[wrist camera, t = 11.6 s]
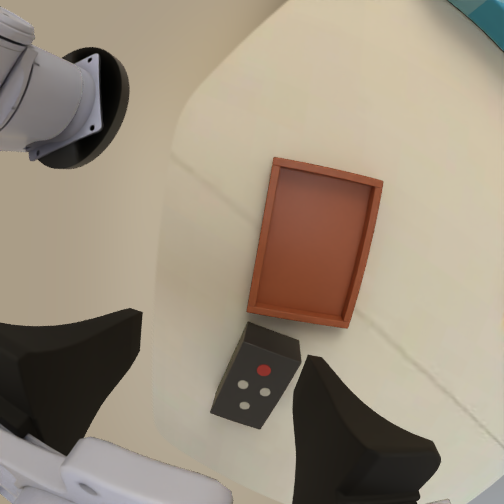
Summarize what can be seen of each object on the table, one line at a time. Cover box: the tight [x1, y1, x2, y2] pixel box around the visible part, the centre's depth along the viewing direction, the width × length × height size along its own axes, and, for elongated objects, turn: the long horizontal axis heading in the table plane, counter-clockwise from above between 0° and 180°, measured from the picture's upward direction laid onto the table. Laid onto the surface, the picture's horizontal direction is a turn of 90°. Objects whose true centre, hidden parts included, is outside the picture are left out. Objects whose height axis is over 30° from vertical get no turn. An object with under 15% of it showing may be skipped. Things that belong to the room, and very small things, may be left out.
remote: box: [210, 322, 301, 429], centre depth 20 cm, size 7×4×3 cm, turn 159°
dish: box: [247, 157, 383, 328], centre depth 19 cm, size 10×7×1 cm
